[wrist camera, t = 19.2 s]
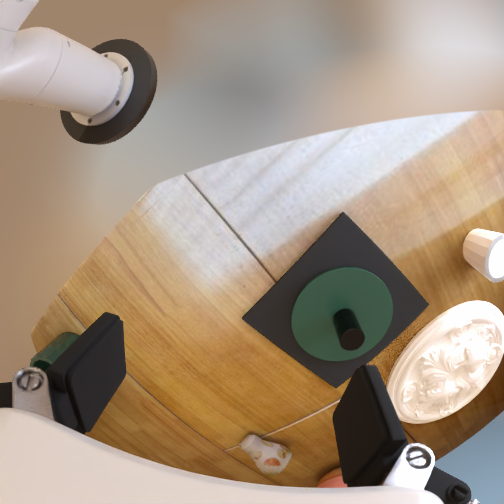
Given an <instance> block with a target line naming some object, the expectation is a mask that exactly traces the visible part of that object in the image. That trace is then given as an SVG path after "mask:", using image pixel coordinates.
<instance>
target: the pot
mask: <svg viewBox="0 0 504 504" xmlns="http://www.w3.org/2000/svg"><path fill="white" fill-rule="evenodd" d="M78 337H79V335H77V334H74V333H70V332H66V333H62V334H61V335H59V336H58V337H56V338H55V339H54V340H53V341H52V342H50V343H49V344H48V345H47V346H46V347H44V348H43V349H42V350H41V351H40V352H39V353H37V354H36V355H35V356H34V357H33V358H32V359H31V363H30V367H37V368H40V369H41V370H43V371H45V370H46V369H47V368H48V367H49V366H50V365H51V364H52V363H53V362H54V361H55V360H56V359H57V358H58V357H59V356H60V355H61V354H62V353H63V352H64V351H65V350H66V349H67V348H68V347H69V346H70V345H71V344H72V343H73V342H74V341H75V340H76V339H77V338H78Z"/></svg>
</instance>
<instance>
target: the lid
mask: <svg viewBox="0 0 504 504" xmlns="http://www.w3.org/2000/svg"><path fill="white" fill-rule="evenodd" d="M392 315H393V302H392V297H391V294H390V292H389V290H388V288H387V286H386V285H385V284H384V282H383V281H382V280H381V279H380V278H379V277H378V276H376V275H375V274H373V273H372V272H370V271H368V270H365V269H362V268H357V267H339V268H335V269H331V270H328V271H326V272H324V273H322V274H320V275H318V276H316V277H315V278H314V279H312V280H311V281H310V282H309V283H308V284H307V285H306V286H305V287H304V288H303V289H302V290H301V292H300V293H299V295H298V296H297V298H296V300H295V303H294V305H293V309H292V314H291V325H292V331H293V334H294V337H295V339H296V341H297V342H298V344H299V345H300V346H301V347H302V348H303V349H304V350H305V351H306V352H307V353H309V354H310V355H312V356H314V357H316V358H319V359H322V360H327V361H345V360H349V359H353V358H356V357H358V356H361V355H363V354H365V353H366V352H368V351H369V350H371V349H372V348H373V347H374V346H376V345H377V344H378V343H379V342H380V340H381V339H382V338H383V337H384V335H385V333H386V332H387V330H388V328H389V326H390V323H391V320H392Z"/></svg>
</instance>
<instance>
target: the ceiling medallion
mask: <svg viewBox="0 0 504 504" xmlns="http://www.w3.org/2000/svg"><path fill="white" fill-rule="evenodd" d="M503 353H504V316H503V314H502V313H501V312H500V310H499V309H498V308H496V307H495V306H494V305H492V304H490V303H488V302H484V301H470V302H466V303H462V304H459V305H457V306H455V307H452V308H450V309H449V310H447V311H445V312H443V313H442V314H440V315H439V316H437V317H436V318H434V319H433V320H432V321H431V322H429V323H428V324H427V325H426V326H425V327H424V328H422V329H421V330H420V331H419V332H418V333H417V334H416V335H415V336H414V337H413V339H412V340H411V341H410V342H409V343H408V344H407V346H406V347H405V348H404V350H403V351H402V352H401V354H400V355H399V357H398V359H397V360H396V362H395V364H394V366H393V368H392V370H391V372H390V375H389V378H388V381H387V385H386V389H387V391H388V394H389V396H390V398H391V401H392V403H393V405H394V408H395V410H396V413H397V415H398V418H399V420H401V421H404V422H407V423H414V424H419V423H428V422H432V421H436V420H439V419H441V418H444V417H446V416H448V415H450V414H452V413H454V412H456V411H457V410H459V409H461V408H462V407H463V406H465V405H466V404H467V403H469V402H470V401H471V400H472V399H473V398H474V397H476V396H477V395H478V394H479V393H480V391H481V390H482V389H483V388H484V387H485V386H486V384H487V383H488V382H489V380H490V379H491V378H492V376H493V374H494V373H495V371H496V369H497V367H498V365H499V363H500V361H501V359H502V356H503Z"/></svg>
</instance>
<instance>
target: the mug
mask: <svg viewBox="0 0 504 504" xmlns="http://www.w3.org/2000/svg"><path fill="white" fill-rule="evenodd" d="M239 446H240V447H241V448H242V450H244V451H245V452H246V453H248V454H249V455H250V456H251V458H252V459H253V461H254V462H255V464H256V465H257V467H258V468H259V469H260V471H261V472H263V473H264V474H266V475H269V476H274V475H276V474H278V473H279V472H281V471H282V470H283V469H284V468H285V467H286V466H287V464H288V463H289V461H290V459H291V457H292V452H291V451H290V450H289V449H288V448H287V447H285V446H283V445H280V444H277V443H272V442H268V441H265V440H262V439H261V438H259V437H258V436H256V435H248V436H247V437H245V438H244V439H243V441H242V442H240V443H239Z"/></svg>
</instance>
